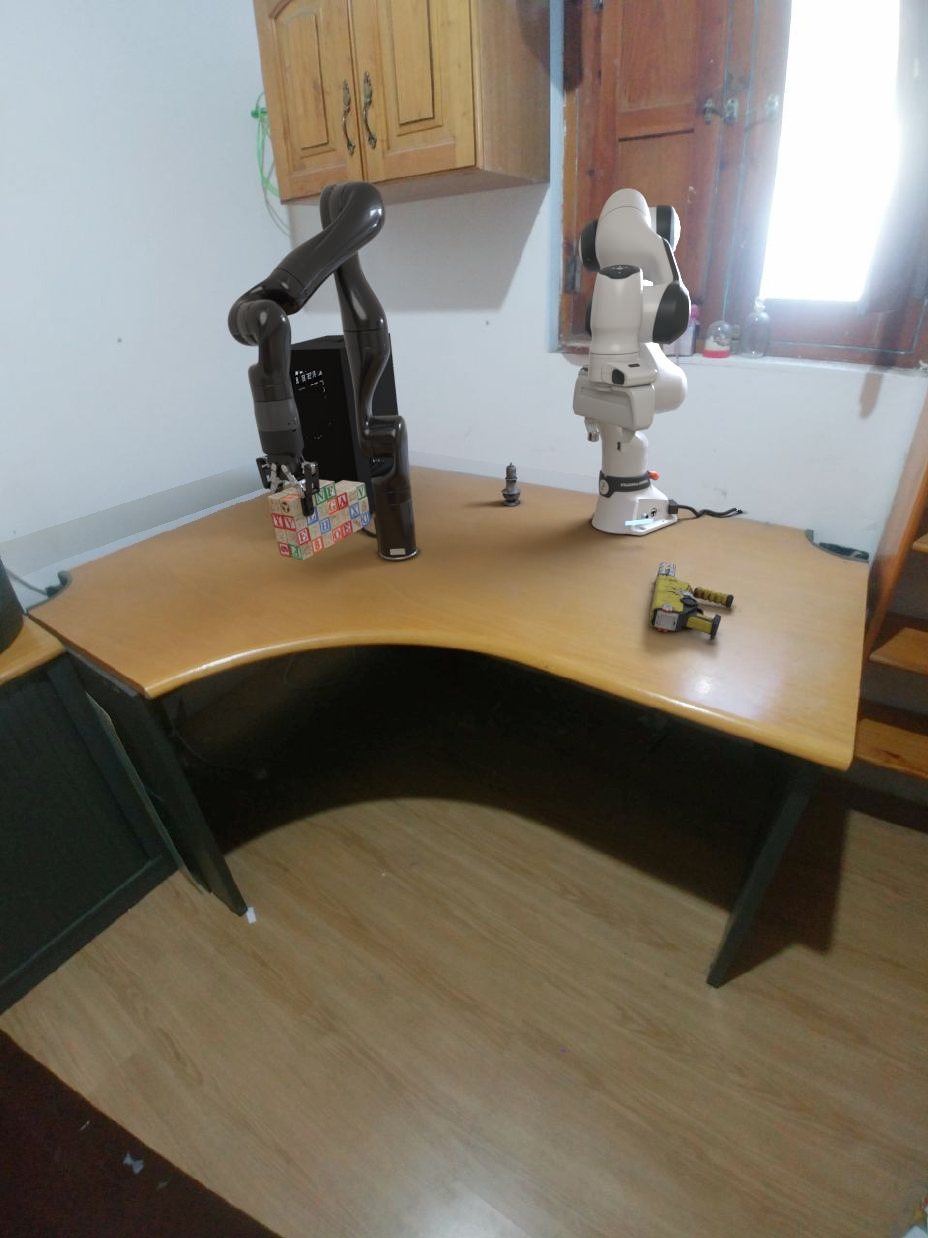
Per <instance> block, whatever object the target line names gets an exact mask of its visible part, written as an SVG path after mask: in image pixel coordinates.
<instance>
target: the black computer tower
mask: <svg viewBox="0 0 928 1238" xmlns="http://www.w3.org/2000/svg"><path fill="white" fill-rule="evenodd" d="M388 333H389V342H390V354H389V358H388V361H387V363H386V365H385V368H384V370H383V372H382V374H381V376H380V378H379V380H378V383H377V385H376V388H375V391H374V394H373V397H372V415H373V416H379V415H399V407H398V398H397V397H398V396H397V387H396V377H395V367H394V366H395V365H394V358H393V357H394V356H393V349H392V339H391V333H390V332H388ZM296 373H297V374H296ZM289 375H290V379H291V384H292V390H293V395H294V396H293V397H294V400H295V403H296V406H297V410H298V415H299V421H300V426H301V432H302V437H303V443H304V448H303V450H302V456H303V458H304V460H305V461H306V462H309V463H311V462H317V464H318V473H319V480H326V481H334V483H335V484H336V483H338V482H340V481H342V480H345V481H352V482H360V483H365V487H366V494H367V498H368V505H369V513H370V516H372V514H374V513H375V510H374V503H373V495H372V488H371V476H372V475H373V474H374V473H376V472H378V471H380V470H383V469H385V468H387V467H389V466H390V465H392V464H393V458H366V457H364V456H363V455H362V453H361V451H360V447H359V443H358V436H357V427H356V416H355V405H354V395H353V387H352V381H351V375H350V369H349V363H348V358H347V353H346V348H345V342H344V335H343V334H328V335H323V336H320V337H315V338H311V339H306V340H304V341H299V342H295V343H291V355H290V367H289ZM301 480H302V478H301V477H300V478H299V479H298V480H297V481H301ZM291 487H293V486H292V485H291Z"/></svg>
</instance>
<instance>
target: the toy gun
mask: <svg viewBox="0 0 928 1238" xmlns="http://www.w3.org/2000/svg"><path fill="white" fill-rule="evenodd" d="M658 566H659V567H658V571H657V575H656V578H655V583H654V588H653V594H652V600H651V606H650V611H649V612H650V614H649V618H648V623H649V625H650V626H651V627H653V628H657V631H659V632H661V631H662V632H664V633H667V632H668V631H672V632H677V631H678V632H679V631H682V630H684V629H685V628H689V629H693V630H696V631H700V632H703V633H705V634H707V635H710V640H715V638H716V636H717V634H718V630H719V627H720V623H721V621H722V620H721V619H722V615H720V614H718V613H716V614H715V615H714V617H710V616H708V615H705V614H704V613H705V612H704V610H703V609H702V608H700V607H699V604H698V603H699V602H698V600H699V599H701V600H703V601H708V603H714V604H715V605H719V604H720V605H721V606H724V607H726V608H731V607H732V605H733V602H734V599H735V596H734V595H733V594H728V593H722V592H721V591H718V592H717V591H716V590H715V589H714V590H710V589H708V588H703V587H702V586H697V587H695V588H694V589H693V587H692V585H691V584H690V583H689V582H686V581H682V580H679V579H677V578H675V577H676V568H677V565H676V564H675V563H671V562H670V563H669V565H667V562H665V561H662V562H660V563H659V565H658ZM667 567H668V568H667ZM697 599H698V600H697Z"/></svg>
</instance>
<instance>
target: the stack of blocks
mask: <svg viewBox="0 0 928 1238" xmlns="http://www.w3.org/2000/svg"><path fill="white" fill-rule="evenodd" d="M319 484H320V492H319V493H317V494H314V495H313V496H312V499H313V504H314V514H313V515H311V516H309V517H305V516H303V512H302V506H301V501H300V498H301V497H300V495H299V493H298V491H297V489H296V488H294V487H292V486H291V487H288V488H286V489H284V490H283V491H281V492H279V493H276V494H273V493H272V494H271V495H268V496H267V502H268V505H269V509H270V517H271V521H272V525H273V528H274V533H275V536H276V537H275V538H276V540H277V546H278V551H279V554H280V556H282V557H286V558H291V559H295V560H299V561H304V560H306V559H308V558H310V557H312V556H313V555H316V554H318V553H320V552H322V551H324V550H325V549H327V548H328V547H331V546H332V545H334V544H337V542H340V541H341V540H343V539H344V538H346V537H348V536H350V535H352V534H353V533H355V532H357V531H360V530H361V528H363V527H364V528H365V527H367V526H369V525H371V523H372V522H371V521H372V520H371V515H370V513H369V505H368V498H367V494H366V487H365V483H360V482H352V481H345V480H342V481H340V482H338V483H336V484H335V483H334V481H326V480H319ZM301 486H302V488H303V490H304V491H305V490H306V489H305V487H304V486H303V485H301ZM312 488H313V483H312Z"/></svg>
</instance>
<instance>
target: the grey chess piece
mask: <svg viewBox="0 0 928 1238" xmlns="http://www.w3.org/2000/svg"><path fill="white" fill-rule="evenodd" d="M505 475H506V476H505V477H504V479H505V488H503V489H502V490H501V494H502V497H503V498H504V500H503V501H502V504H503V505H504V506H508V507H511V506H518V505H520V504H521V501H520V500H519V498H520V496H521V493H522V489H520V488H519V487H518V484H517V480H518V476H517V467H516V466H515V465H514V464H513V462H510V463H509V465H507V466H506V469H505Z"/></svg>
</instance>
